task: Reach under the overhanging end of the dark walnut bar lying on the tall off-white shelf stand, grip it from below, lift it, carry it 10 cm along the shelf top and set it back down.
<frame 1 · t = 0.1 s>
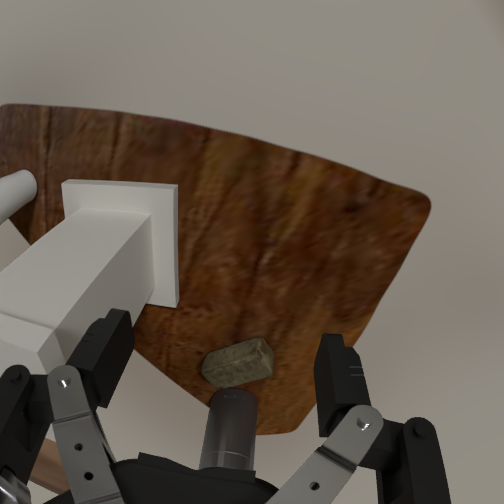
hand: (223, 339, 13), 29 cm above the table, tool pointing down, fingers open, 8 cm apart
stone block: (239, 352, 53), on the table
drinking glass: (27, 184, 41), on the table
walnut bar: (74, 455, 20), point 30 cm above the table, touching shelf stand
shelf stand: (122, 241, 44), on the table
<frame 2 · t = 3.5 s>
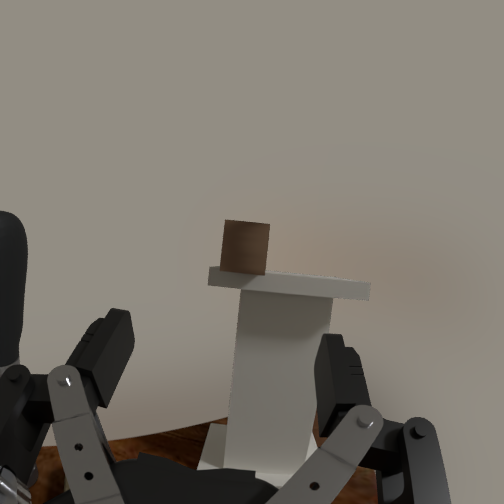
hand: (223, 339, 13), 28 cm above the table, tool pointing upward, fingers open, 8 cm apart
walnut bar: (247, 270, 38), point 30 cm above the table, touching shelf stand
shelf stand: (260, 463, 42), on the table
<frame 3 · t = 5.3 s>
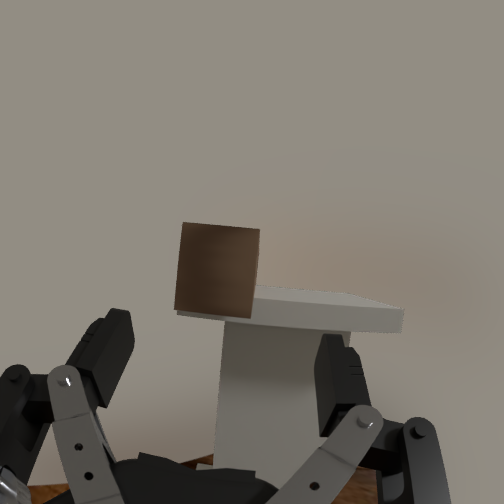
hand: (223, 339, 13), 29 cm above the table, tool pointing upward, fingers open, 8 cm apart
walnut bar: (233, 292, 27), point 30 cm above the table, touching shelf stand
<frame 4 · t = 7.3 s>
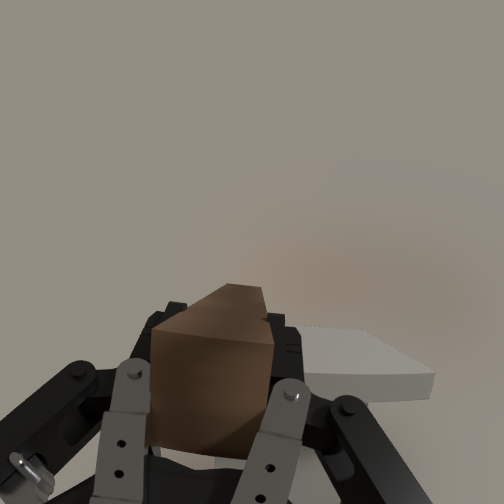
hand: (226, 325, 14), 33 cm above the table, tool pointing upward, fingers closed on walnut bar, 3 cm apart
walnut bar: (231, 354, 21), point 30 cm above the table, touching gripper, shelf stand
when the fingers open (34 cm above the table, at t = 11.1 s): walnut bar stays where it is, resting on shelf stand.
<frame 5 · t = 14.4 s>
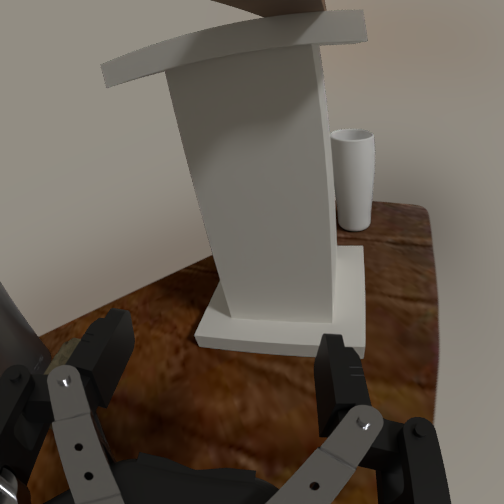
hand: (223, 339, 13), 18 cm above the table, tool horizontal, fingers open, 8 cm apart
stone block: (82, 398, 31), on the table
drinking glass: (354, 225, 51), on the table
walnut bar: (298, 17, 16), point 30 cm above the table, touching shelf stand
shelf stand: (290, 299, 39), on the table
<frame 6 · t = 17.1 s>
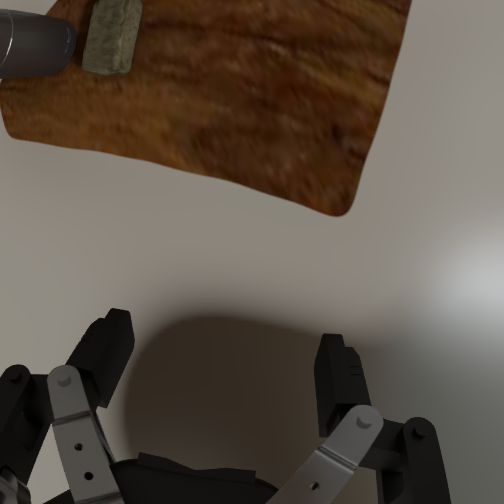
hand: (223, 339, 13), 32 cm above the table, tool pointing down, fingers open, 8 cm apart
stone block: (121, 37, 34), on the table
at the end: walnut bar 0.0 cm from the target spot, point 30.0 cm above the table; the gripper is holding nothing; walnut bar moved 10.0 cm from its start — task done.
